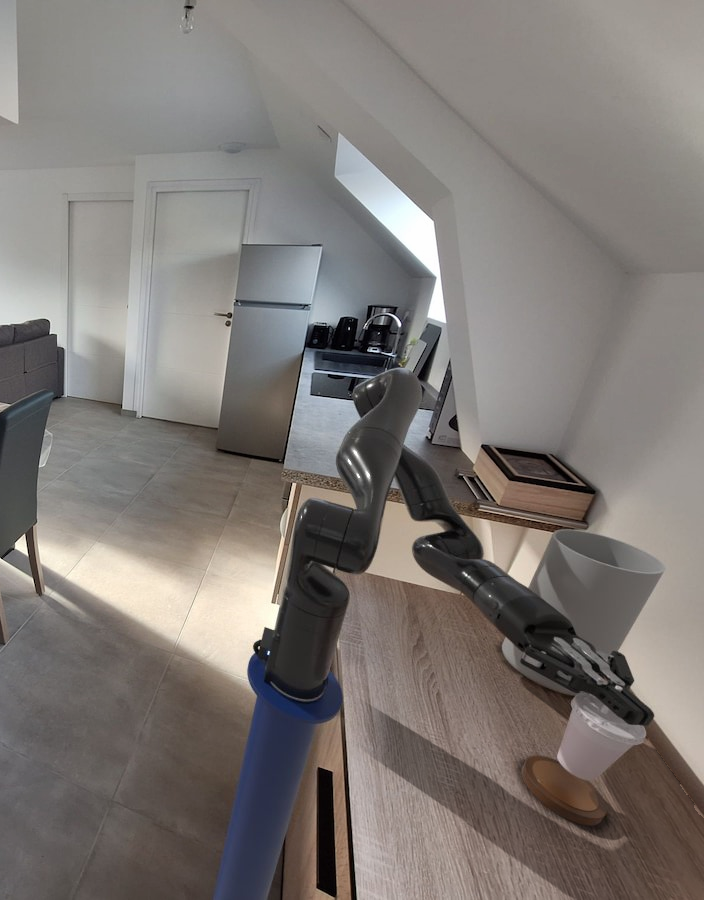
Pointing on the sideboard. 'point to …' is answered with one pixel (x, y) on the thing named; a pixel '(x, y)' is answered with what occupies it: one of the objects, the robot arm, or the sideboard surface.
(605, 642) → the cylinder vase
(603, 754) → the smoothie
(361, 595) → the sideboard surface
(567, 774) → the coaster
